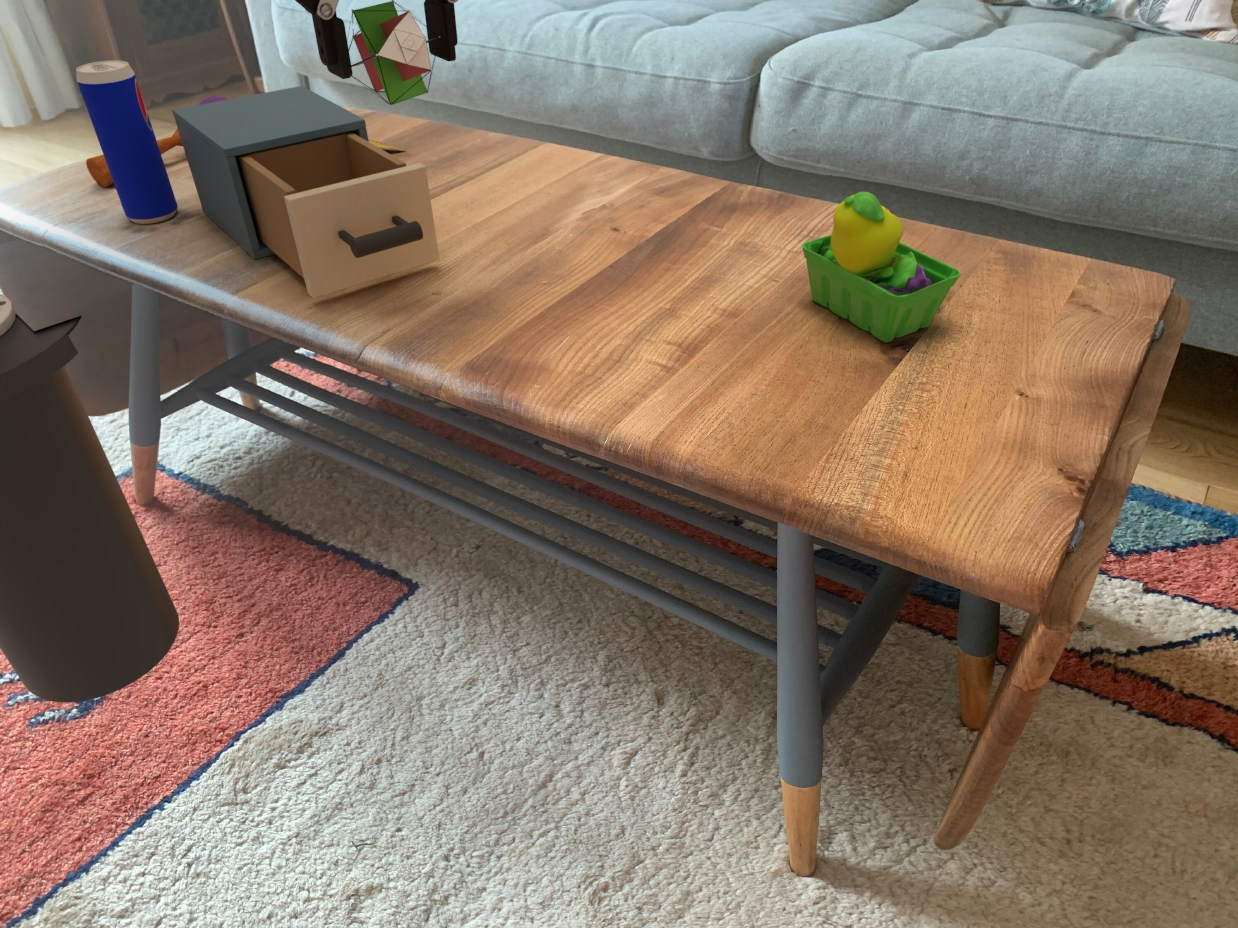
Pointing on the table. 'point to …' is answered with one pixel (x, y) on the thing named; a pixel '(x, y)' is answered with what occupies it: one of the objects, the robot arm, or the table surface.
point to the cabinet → (251, 148)
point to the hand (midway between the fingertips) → (393, 65)
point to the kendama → (101, 170)
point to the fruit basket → (875, 272)
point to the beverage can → (127, 140)
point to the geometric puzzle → (392, 51)
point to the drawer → (340, 210)
